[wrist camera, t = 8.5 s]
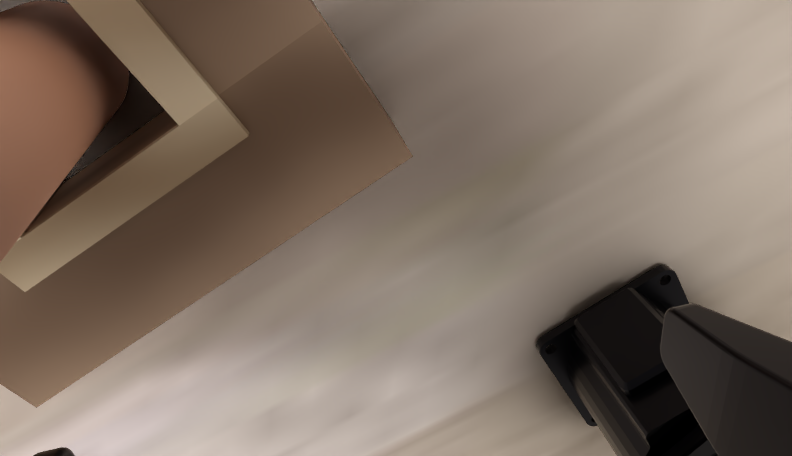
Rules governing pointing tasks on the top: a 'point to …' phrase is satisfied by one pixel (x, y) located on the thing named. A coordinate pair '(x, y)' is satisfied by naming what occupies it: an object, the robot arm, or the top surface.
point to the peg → (48, 104)
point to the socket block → (188, 178)
